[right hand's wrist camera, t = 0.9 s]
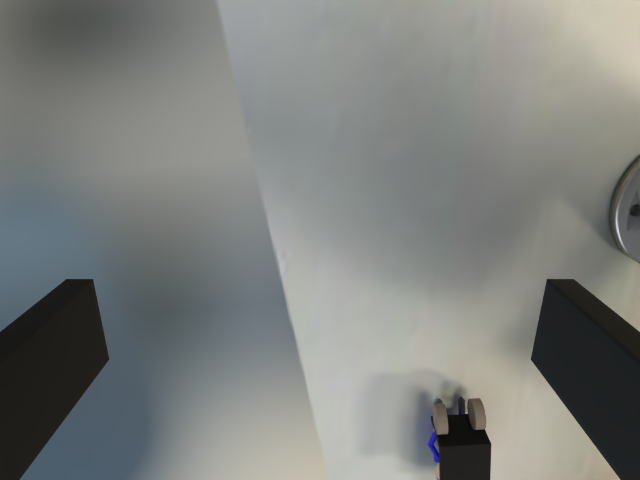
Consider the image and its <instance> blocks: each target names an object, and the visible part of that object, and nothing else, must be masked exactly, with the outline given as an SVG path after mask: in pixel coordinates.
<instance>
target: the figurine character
mask: <svg viewBox="0 0 640 480" xmlns="http://www.w3.org/2000/svg"><path fill="white" fill-rule="evenodd" d="M458 407H459V415H447V413H446V409H445V406H444V404H443V403H442V401H441V400H440V399H439V400H438V402H437V404H433V405H432V414H433V416H431V421H432V424H433V433H432V436H431V438H430V440H429V443H428V446H429V448H430V449H431V451H432V453H433V454H434V461H435V462H437V463H438V464H437V467H436V476H437V480H490V466H491V443H490V440H489V438H488V436H487V434H486V431H485V427H486V416H485V410H484V407H483V404H482V401H481V400H480V399H479V398H476V399H469V400H468V414H465V400H464V399H463V398H462V397H460V398H459V399H458ZM436 439H437V442H438V445H439V453H438V451H437V450H436V448H435V446H434V443H435V441H436Z"/></svg>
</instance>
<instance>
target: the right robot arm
mask: <svg viewBox="0 0 640 480" xmlns="http://www.w3.org/2000/svg"><path fill="white" fill-rule="evenodd" d="M609 220H610V229H611V233H612V236H613V238H614V240H615V242H616V244H617V245H618V247H619V248H620V249H621V250H622V251H623V252H624V253H625V254H626V255H627V256H629V257H630V258H632V259H633V260H635V261H637V262H639V263H640V157H639V158H638V159H637V160H636V161H635V162H634V163H633V164H632V165H631V166H630V168H629V169H628V170H627V171H626V173H625V174H624V176H623V177H622V179H621V180H620V182H619V184H618V186H617V188H616V190H615V193H614V195H613V198H612V202H611V207H610V215H609ZM108 360H109V356H108V351H107V346H106V341H105V336H104V332H103V327H102V322H101V317H100V312H99V307H98V302H97V297H96V292H95V287H94V282H93V279H66V280H65V281H64V282H62V283H61V284H60V285H59V286H57V287H56V288H55V289H54V290H52V291H51V292H50V293H49V294H47V295H46V296H45V297H44V298H42V299H41V300H40V301H39V302H37V303H36V304H35V305H34V306H32V307H31V308H30V309H29V310H27V311H26V312H25V313H24V314H22V315H21V316H20V317H19V318H17V319H16V320H15V321H14V322H12V323H11V324H10V325H8V326H7V327H6V328H5V329H3V330H2V331H1V332H0V480H19V479H20V478H21V477H22V475H23V474H24V473H25V471H26V470H27V469H28V467H29V466H30V465H31V463H32V462H33V461H34V459H35V458H36V457H37V455H38V454H39V453H40V451H41V450H42V449H43V447H44V446H45V445H46V443H47V442H48V441H49V439H50V438H51V437H52V435H53V434H54V433H55V431H56V430H57V429H58V427H59V426H60V425H61V423H62V422H63V420H64V419H65V418H66V416H67V415H68V414H69V413H70V411H71V410H72V408H73V407H74V406H75V404H76V403H77V402H78V400H79V399H80V398H81V396H82V395H83V394H84V392H85V391H86V390H87V388H88V387H89V386H90V384H91V383H92V382H93V380H94V379H95V378H96V376H97V375H98V374H99V372H100V371H101V370H102V368H103V367H104V366H105V364H106V363H107V362H108ZM531 360H532V362H533V363H534V364H535V366H536V367H537V368H538V370H539V371H540V372H541V374H542V375H543V376H544V378H545V379H546V380H547V382H548V383H549V384H550V386H551V387H552V388H553V390H554V391H555V392H556V394H557V395H558V396H559V398H560V399H561V400H562V402H563V403H564V404H565V406H566V407H567V409H568V410H569V411H570V413H571V414H572V415H573V417H574V418H575V419H576V421H577V422H578V423H579V425H580V426H581V427H582V429H583V430H584V431H585V433H586V434H587V435H588V437H589V438H590V439H591V441H592V442H593V443H594V445H595V446H596V447H597V449H598V450H599V451H600V453H601V454H602V455H603V457H604V458H605V459H606V461H607V462H608V463H609V465H610V466H611V467H612V469H613V470H614V471H615V473H616V474H617V475H618V477H619V478H620V479H621V480H640V332H639V331H638V330H637V329H635V328H634V327H633V326H632V325H630V324H629V323H628V322H627V321H625V320H624V319H623V318H622V317H620V316H619V315H618V314H616V313H615V312H614V311H613V310H611V309H610V308H609V307H608V306H606V305H605V304H604V303H603V302H601V301H600V300H599V299H598V298H596V297H595V296H594V295H593V294H591V293H590V292H589V291H588V290H586V289H585V288H584V287H583V286H581V285H580V284H579V283H578V282H576V281H575V280H574V279H547V282H546V287H545V292H544V297H543V302H542V307H541V312H540V317H539V322H538V326H537V331H536V336H535V341H534V346H533V351H532V356H531Z"/></svg>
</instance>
